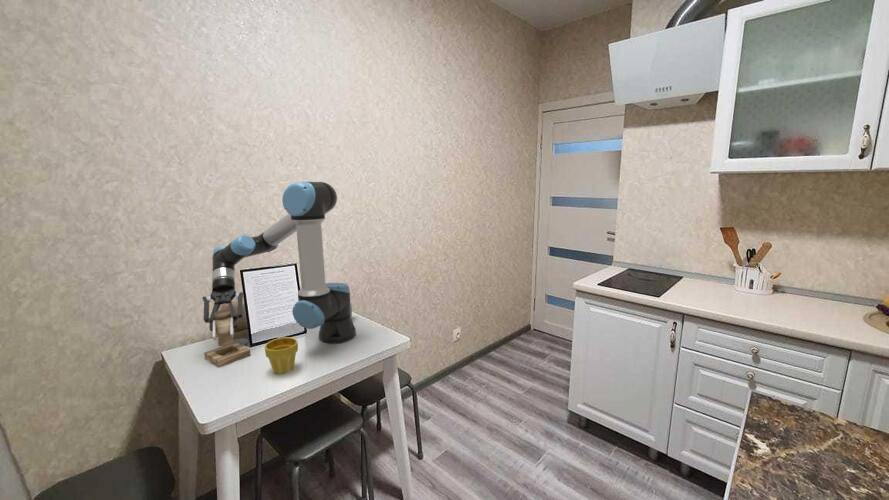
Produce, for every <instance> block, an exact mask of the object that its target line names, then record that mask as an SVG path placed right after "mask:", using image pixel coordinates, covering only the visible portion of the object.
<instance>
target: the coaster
mask: <svg viewBox="0 0 889 500" xmlns="http://www.w3.org/2000/svg"><path fill="white" fill-rule="evenodd" d="M233 342H237V343H239V344H241V345H242V346H245V345H246V344H248V342H249V340H248V339H247V338H238V339H236V338H235V339H233Z"/></svg>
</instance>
